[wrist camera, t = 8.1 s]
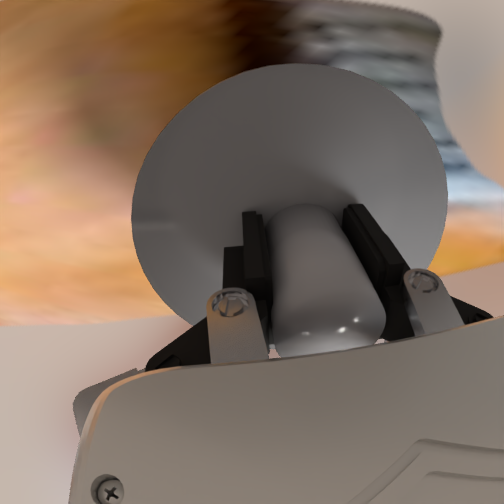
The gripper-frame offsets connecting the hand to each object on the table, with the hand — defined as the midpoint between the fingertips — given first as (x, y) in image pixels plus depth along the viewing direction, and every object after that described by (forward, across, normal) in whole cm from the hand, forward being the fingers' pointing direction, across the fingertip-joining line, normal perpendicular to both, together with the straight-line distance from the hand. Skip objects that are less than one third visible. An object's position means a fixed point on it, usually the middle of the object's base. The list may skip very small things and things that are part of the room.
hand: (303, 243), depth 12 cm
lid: (+1, 0, 0) cm, 1 cm away
